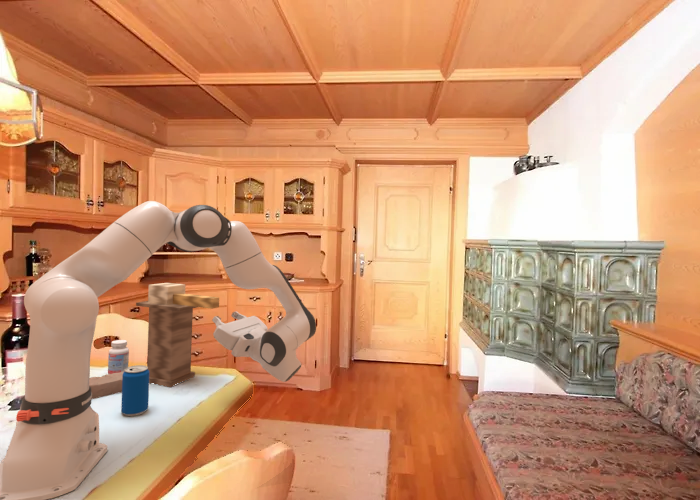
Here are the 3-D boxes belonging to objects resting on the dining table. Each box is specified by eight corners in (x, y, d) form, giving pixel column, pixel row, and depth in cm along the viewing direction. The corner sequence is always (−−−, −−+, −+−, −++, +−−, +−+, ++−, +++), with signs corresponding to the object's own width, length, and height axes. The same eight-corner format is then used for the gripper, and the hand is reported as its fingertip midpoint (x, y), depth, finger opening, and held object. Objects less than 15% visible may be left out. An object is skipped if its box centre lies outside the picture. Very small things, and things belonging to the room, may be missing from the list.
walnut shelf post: (202, 377, 134) (205, 302, 133) (176, 389, 123) (179, 307, 122) (162, 369, 140) (164, 298, 139) (133, 380, 128) (136, 302, 128)
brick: (126, 382, 127) (126, 368, 127) (135, 390, 122) (135, 375, 121) (64, 396, 115) (65, 380, 115) (71, 405, 109) (72, 388, 109)
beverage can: (136, 405, 110) (137, 363, 110) (153, 409, 108) (155, 366, 108) (115, 414, 104) (116, 370, 104) (133, 419, 102) (135, 374, 102)
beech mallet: (223, 306, 129) (224, 288, 128) (207, 309, 121) (208, 290, 121) (166, 299, 136) (167, 282, 136) (148, 302, 129) (148, 284, 129)
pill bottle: (103, 376, 131) (104, 343, 131) (115, 370, 137) (116, 338, 137) (121, 377, 131) (122, 344, 131) (131, 371, 137) (132, 339, 137)
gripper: (277, 327, 129) (247, 303, 133) (241, 340, 110) (207, 312, 113) (268, 342, 130) (239, 318, 134) (230, 358, 111) (197, 329, 115)
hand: (224, 315), depth 124 cm, fingers open, 8 cm apart
